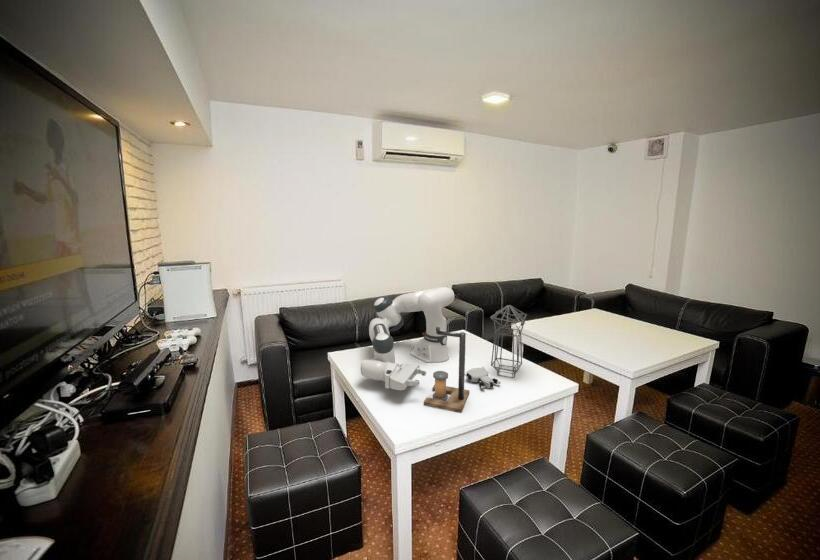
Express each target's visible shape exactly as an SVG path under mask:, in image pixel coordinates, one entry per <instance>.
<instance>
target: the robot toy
mask: <svg viewBox="0 0 820 560" xmlns="http://www.w3.org/2000/svg"><path fill="white" fill-rule="evenodd" d="M489 374H490V373H489V371H488V370H486V369H485V367H484V366H482V367H475V368H471V369H468V370H466V373H465V376H464V377H466V379H468V380H469V381H470V382H472V383H479V384H478V385H479V388H480V389H481V390H482V389H483V390H484V389H485V388H488V389H491V388H493V387H494V384H495V385H500V384H501V383H502V382H501V381H500V380H498V379H496V378H493V377H490V376H489Z"/></svg>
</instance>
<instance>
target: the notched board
mask: <svg viewBox="0 0 820 560" xmlns="http://www.w3.org/2000/svg"><path fill="white" fill-rule="evenodd" d="M431 389H432V392H435V384H433V386H432V388H431ZM446 394H447V395H450V396H449V397H448V399H447V400H446V401H443V400H438V399H433V397H428V396H426V398H425V399H424V400H423V405H424V406H425V407H432V408H435V409H441V410H446V411H451V412H456V413H460V414H462V413H463V410H464V408H465V405H466V403H467V401H468V398H469V396H470V390H469V389H465V388H464V399H463V400H459V399H458V387H453V386H447V385H446Z"/></svg>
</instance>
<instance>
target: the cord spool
mask: <svg viewBox="0 0 820 560" xmlns="http://www.w3.org/2000/svg"><path fill="white" fill-rule="evenodd" d="M432 377H433V378H434V385H435V391H434V393H433V394H432V398H433V399H438V400H443V401H448V399H449V397H448V395H449V394H446V386H447V379H448V378H449V374H448V372H447V371H445V370H444V371H443V370H437V371H434V372H433V373H432Z"/></svg>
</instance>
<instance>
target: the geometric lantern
mask: <svg viewBox="0 0 820 560" xmlns="http://www.w3.org/2000/svg"><path fill="white" fill-rule="evenodd" d="M511 313H513V314H511ZM500 314H501V315H502V317H501V318H497V317H498V316H499V315H500ZM511 316H513V317H514V319H513V318H511ZM527 316H528V314H527V313H525V312H523V311H521V310H519V309H517V308H516V307H514V306H513V305H511V304H509V305H508V304H507V305H505V306H504V307H501V308H500V309H498V310H496V311H495V313H494V314H492V315H491V316H490V317H489V318H490V319H491V320H492V322H493V324H494V325H493V327H494V335H493V343H492V353H491V361H490V366H491V367H493V369H495V371H496V375H497V376H499V377H504V378H509V377H510V379H513V378H516V377H515V376H516V374H517V372H518V371H519V370H520V369H521V366H522V365H523V351H522V350H523V349H522V347H523V345H522V343H523V342H522V332H523V328H524V325H525V322H526V319H527ZM504 317H505V318H506V319H504ZM499 321H500V322H499ZM504 321H505V323H504V324H503V322H504ZM508 323H510V324H508ZM518 323H520V325H519V327H518V325H517V324H518ZM496 324H497V326H498V328H496ZM512 325H515V326H516V328H512V327H510V326H512ZM520 328H521V329H520ZM504 329H507V330H509V331H510V333H511V334H512V335H511V334H507V333H506V334H505V333H504ZM513 330H514V331H516V333H514V332H513ZM500 332H501V333H500ZM517 334H518V335H517ZM500 335H501V340H500ZM504 336H507V337H512V359H509V358H508V359H507V358H502V354H503V353H502V352H503V342H504V341H503V339H504ZM515 337H516V360H515ZM499 341H501V344H500V343H499ZM499 344H500V353H498V350H499ZM498 354H500V357H499V358H498ZM519 358H520V359H519ZM498 360H500V361H498ZM502 360H505V361H510V362H512V366H511V365H504V364H501V363H502ZM519 360H520V361H519ZM496 362H497V363H498V366H496ZM503 367H506V368H503ZM507 367H509V368H512V369H509V368H507ZM503 370H504V371H503ZM499 373H504V374H505V373H506V374H511V376H508V375H502V374H499Z"/></svg>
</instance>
